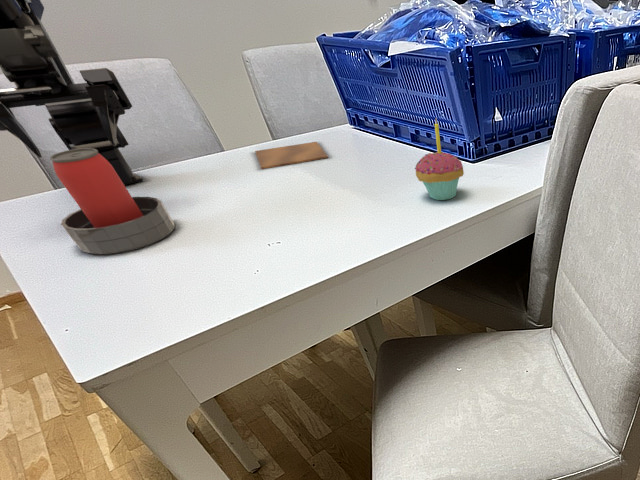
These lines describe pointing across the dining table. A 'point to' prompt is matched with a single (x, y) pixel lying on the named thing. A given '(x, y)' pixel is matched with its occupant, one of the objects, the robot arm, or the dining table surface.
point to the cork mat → (290, 155)
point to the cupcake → (439, 172)
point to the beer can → (95, 187)
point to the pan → (121, 229)
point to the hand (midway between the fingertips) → (77, 149)
